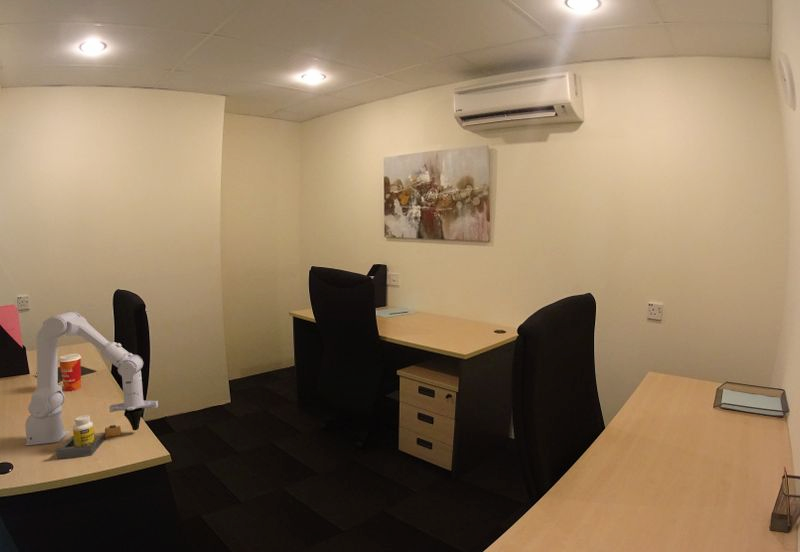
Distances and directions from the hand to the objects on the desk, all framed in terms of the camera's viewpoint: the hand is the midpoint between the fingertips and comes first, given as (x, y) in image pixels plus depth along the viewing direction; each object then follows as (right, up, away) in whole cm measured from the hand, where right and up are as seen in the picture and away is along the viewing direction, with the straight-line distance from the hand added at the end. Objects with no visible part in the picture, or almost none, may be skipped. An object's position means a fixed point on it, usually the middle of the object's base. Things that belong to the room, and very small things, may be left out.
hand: (136, 429), depth 156 cm
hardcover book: (-69, +5, +60) cm, 91 cm away
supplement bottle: (-12, -3, -9) cm, 15 cm away
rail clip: (-12, -3, -9) cm, 15 cm away
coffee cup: (-53, +3, +42) cm, 68 cm away
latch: (-7, -2, -2) cm, 7 cm away
